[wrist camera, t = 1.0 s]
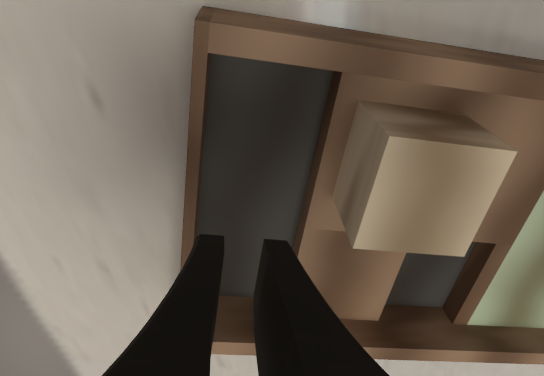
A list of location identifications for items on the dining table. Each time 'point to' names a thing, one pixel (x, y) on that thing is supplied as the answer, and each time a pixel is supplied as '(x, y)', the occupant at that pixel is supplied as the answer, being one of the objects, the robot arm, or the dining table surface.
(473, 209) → the birch block
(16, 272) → the dining table surface
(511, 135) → the trap box
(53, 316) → the dining table surface
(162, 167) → the dining table surface
